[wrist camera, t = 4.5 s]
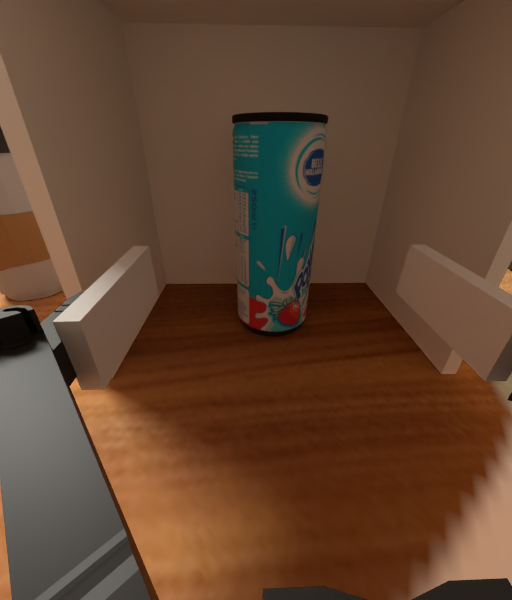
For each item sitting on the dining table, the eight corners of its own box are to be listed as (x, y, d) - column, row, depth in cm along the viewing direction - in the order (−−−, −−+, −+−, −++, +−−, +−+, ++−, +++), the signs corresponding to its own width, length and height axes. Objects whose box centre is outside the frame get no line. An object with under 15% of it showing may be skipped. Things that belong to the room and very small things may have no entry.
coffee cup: (-27, 294, 28) (-127, 117, 21) (57, 266, 35) (4, 123, 27) (17, 316, 25) (-85, 113, 17) (101, 280, 31) (54, 121, 24)
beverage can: (281, 349, 21) (296, 109, 14) (224, 321, 24) (211, 115, 17) (317, 315, 25) (344, 117, 18) (264, 295, 28) (268, 120, 21)
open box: (370, 278, 32) (434, 5, 21) (455, 373, 19) (750, -224, 8) (159, 280, 31) (108, -2, 20) (97, 379, 18) (-149, -264, 7)
